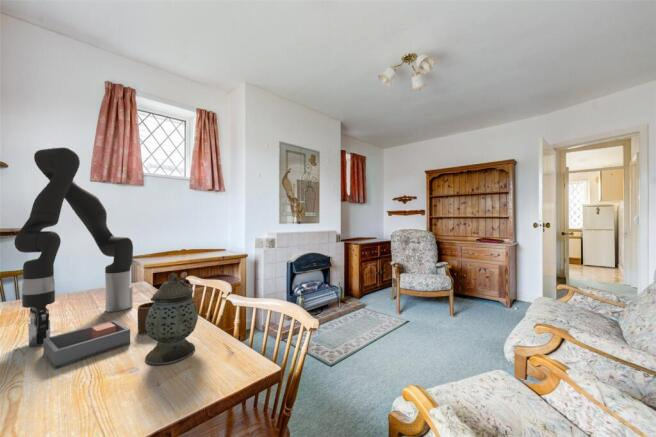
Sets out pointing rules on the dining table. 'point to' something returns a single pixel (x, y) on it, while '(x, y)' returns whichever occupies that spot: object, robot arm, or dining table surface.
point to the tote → (83, 345)
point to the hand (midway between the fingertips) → (39, 340)
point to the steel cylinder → (33, 334)
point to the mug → (143, 316)
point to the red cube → (103, 330)
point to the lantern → (171, 322)
